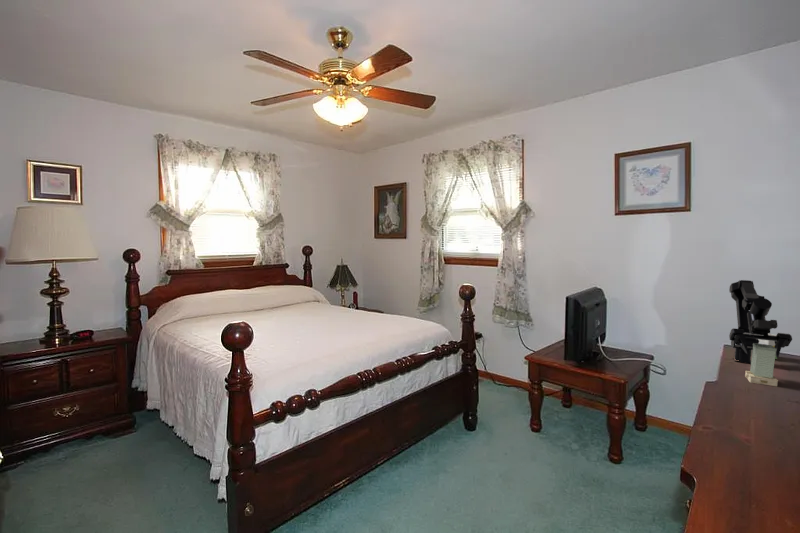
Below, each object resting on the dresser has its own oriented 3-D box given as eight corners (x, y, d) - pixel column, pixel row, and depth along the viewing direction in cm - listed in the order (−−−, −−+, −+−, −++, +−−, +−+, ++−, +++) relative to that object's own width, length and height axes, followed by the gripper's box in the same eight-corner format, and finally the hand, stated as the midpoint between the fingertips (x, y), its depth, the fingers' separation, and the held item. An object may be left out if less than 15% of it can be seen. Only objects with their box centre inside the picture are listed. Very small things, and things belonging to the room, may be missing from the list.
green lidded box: (749, 371, 166) (753, 342, 164) (767, 374, 163) (771, 345, 162) (754, 375, 161) (757, 346, 159) (772, 378, 158) (776, 348, 157)
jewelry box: (744, 377, 168) (745, 370, 167) (770, 381, 164) (771, 374, 164) (750, 383, 160) (750, 376, 160) (777, 387, 156) (778, 380, 156)
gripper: (733, 309, 170) (737, 341, 161) (793, 314, 160) (800, 348, 152) (727, 324, 177) (731, 355, 169) (784, 329, 168) (791, 362, 159)
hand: (762, 355), depth 162 cm, fingers open, 9 cm apart
